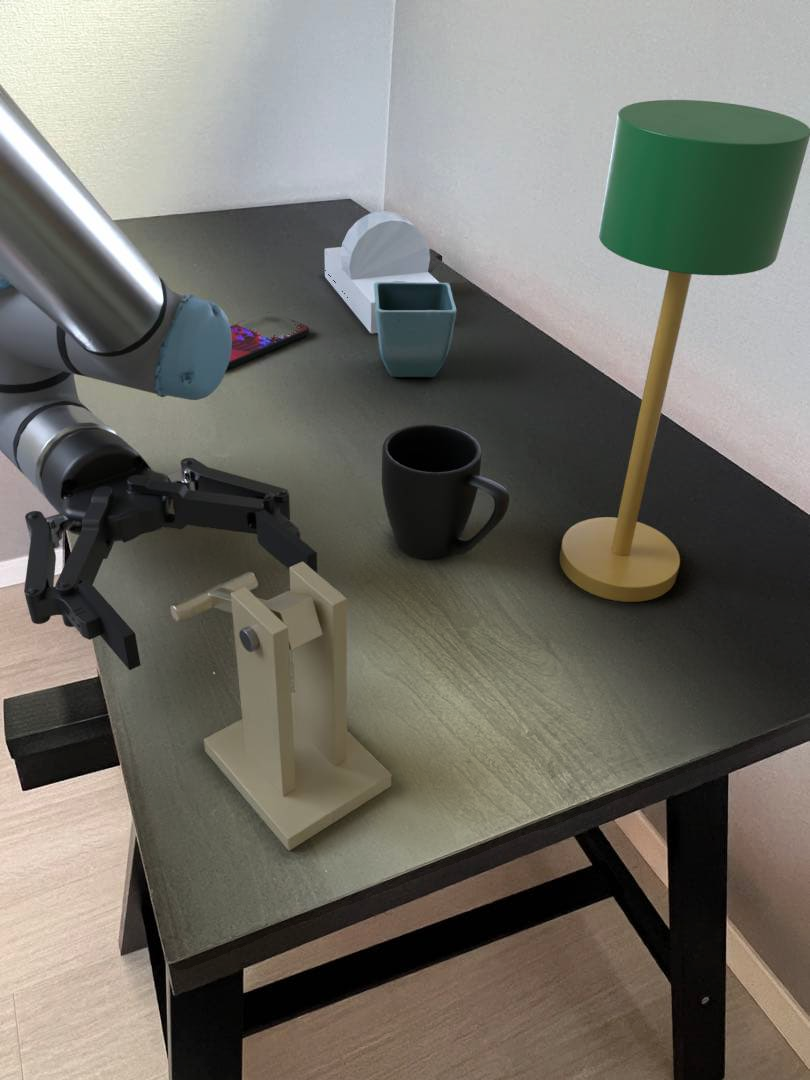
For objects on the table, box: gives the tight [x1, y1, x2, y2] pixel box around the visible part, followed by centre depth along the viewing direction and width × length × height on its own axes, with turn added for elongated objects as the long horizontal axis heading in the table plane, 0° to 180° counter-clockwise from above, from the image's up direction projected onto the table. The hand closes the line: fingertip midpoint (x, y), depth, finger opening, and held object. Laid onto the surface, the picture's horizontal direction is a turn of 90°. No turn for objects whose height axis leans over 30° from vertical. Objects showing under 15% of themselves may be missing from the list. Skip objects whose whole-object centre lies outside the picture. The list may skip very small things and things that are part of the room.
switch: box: [169, 571, 323, 651], centre depth 58 cm, size 12×6×2 cm, turn 40°
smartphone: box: [226, 320, 310, 370], centre depth 114 cm, size 8×1×15 cm
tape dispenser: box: [324, 210, 440, 334], centre depth 124 cm, size 20×11×11 cm, turn 21°
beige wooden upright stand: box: [203, 562, 392, 852], centre depth 58 cm, size 10×8×15 cm
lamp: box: [559, 99, 810, 603], centre depth 71 cm, size 12×12×36 cm
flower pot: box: [374, 282, 457, 378], centre depth 108 cm, size 9×9×9 cm
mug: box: [381, 423, 510, 560], centre depth 80 cm, size 8×12×10 cm
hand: (228, 608), depth 62 cm, fingers open, 13 cm apart
